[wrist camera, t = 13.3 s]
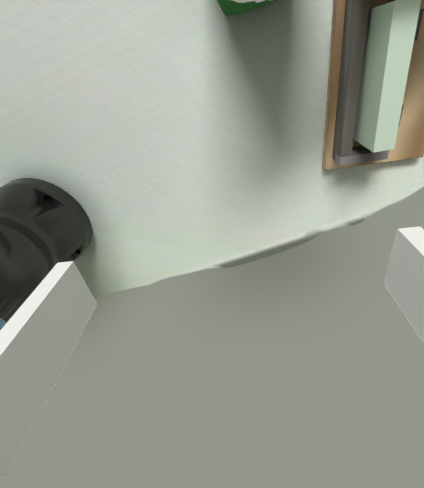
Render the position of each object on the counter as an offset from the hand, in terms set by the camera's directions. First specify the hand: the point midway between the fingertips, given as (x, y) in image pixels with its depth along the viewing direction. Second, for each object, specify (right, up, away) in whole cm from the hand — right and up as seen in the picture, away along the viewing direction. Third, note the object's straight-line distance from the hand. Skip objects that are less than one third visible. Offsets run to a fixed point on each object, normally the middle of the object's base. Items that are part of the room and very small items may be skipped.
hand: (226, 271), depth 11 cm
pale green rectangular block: (+16, +20, +19) cm, 32 cm away
